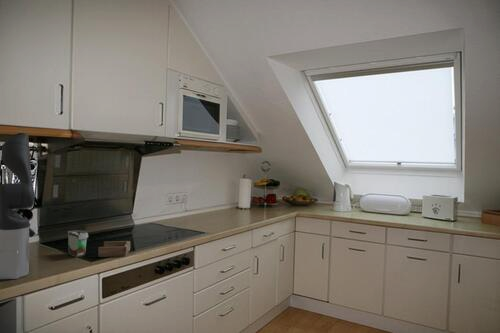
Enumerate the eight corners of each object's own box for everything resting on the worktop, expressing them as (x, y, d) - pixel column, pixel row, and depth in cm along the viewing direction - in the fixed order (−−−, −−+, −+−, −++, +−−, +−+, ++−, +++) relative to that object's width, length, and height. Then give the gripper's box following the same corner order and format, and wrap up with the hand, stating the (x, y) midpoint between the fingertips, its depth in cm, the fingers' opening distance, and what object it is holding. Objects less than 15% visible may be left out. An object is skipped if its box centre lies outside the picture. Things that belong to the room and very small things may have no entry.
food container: (93, 255, 154) (93, 233, 154) (78, 258, 149) (79, 234, 149) (81, 250, 162) (81, 229, 162) (67, 253, 157) (67, 231, 157)
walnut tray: (126, 256, 153) (126, 247, 153) (98, 257, 151) (98, 247, 151) (130, 249, 166) (130, 240, 166) (104, 250, 163) (104, 241, 163)
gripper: (1, 203, 143) (34, 232, 145) (16, 199, 156) (46, 226, 158) (-13, 216, 142) (19, 245, 144) (3, 211, 155) (33, 238, 157)
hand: (33, 235), depth 151 cm, fingers closed
